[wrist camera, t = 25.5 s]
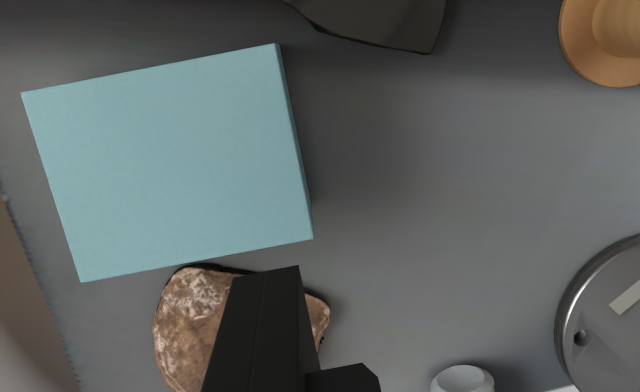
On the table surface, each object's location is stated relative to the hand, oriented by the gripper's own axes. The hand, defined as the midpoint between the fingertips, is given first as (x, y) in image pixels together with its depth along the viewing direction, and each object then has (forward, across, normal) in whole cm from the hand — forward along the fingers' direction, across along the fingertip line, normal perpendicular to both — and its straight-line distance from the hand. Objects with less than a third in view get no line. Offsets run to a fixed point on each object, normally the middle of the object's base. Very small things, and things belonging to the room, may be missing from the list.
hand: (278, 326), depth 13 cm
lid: (+22, -7, +1) cm, 23 cm away
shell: (+29, -7, -14) cm, 33 cm away
